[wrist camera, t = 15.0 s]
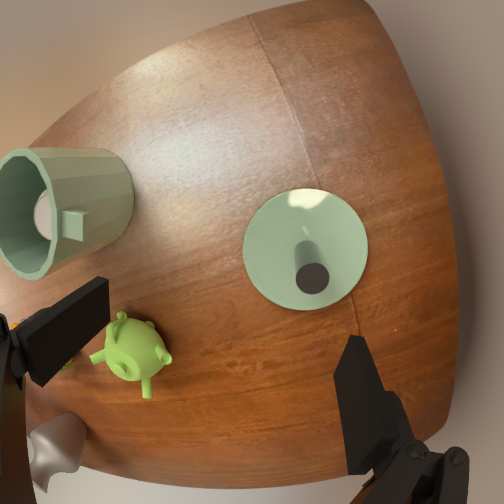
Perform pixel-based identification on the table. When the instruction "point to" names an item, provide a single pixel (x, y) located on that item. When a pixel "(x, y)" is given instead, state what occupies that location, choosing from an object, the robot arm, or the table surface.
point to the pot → (61, 206)
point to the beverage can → (43, 216)
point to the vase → (57, 448)
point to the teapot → (133, 351)
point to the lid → (305, 249)
